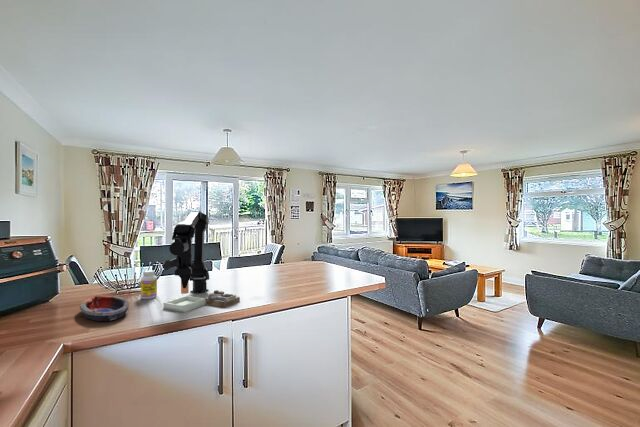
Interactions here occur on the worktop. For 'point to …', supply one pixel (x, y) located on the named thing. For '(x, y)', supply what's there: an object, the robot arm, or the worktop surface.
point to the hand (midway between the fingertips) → (184, 287)
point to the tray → (184, 303)
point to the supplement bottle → (148, 285)
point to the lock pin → (184, 289)
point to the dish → (104, 307)
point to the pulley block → (221, 299)
